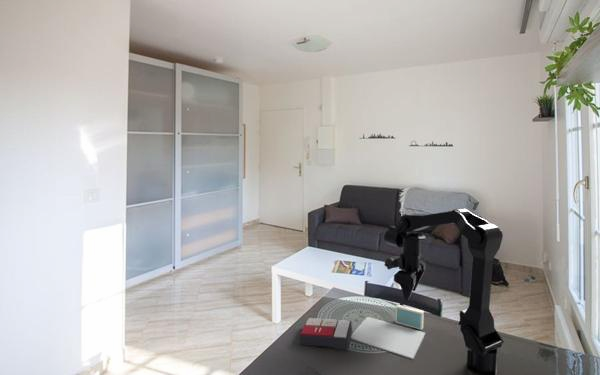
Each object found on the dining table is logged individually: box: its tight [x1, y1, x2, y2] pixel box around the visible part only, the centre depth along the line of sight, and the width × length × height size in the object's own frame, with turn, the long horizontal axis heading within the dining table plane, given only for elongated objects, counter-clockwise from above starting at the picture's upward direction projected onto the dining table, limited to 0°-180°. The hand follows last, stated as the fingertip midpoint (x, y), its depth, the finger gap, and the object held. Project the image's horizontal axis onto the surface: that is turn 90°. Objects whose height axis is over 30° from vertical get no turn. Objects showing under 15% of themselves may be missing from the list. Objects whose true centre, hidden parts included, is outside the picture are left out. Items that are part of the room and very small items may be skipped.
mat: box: [350, 316, 426, 360], centre depth 104 cm, size 20×16×1 cm
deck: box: [394, 304, 425, 331], centre depth 111 cm, size 9×2×6 cm, turn 57°
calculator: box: [299, 317, 353, 351], centre depth 103 cm, size 11×4×15 cm
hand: (409, 295), depth 110 cm, fingers open, 9 cm apart
